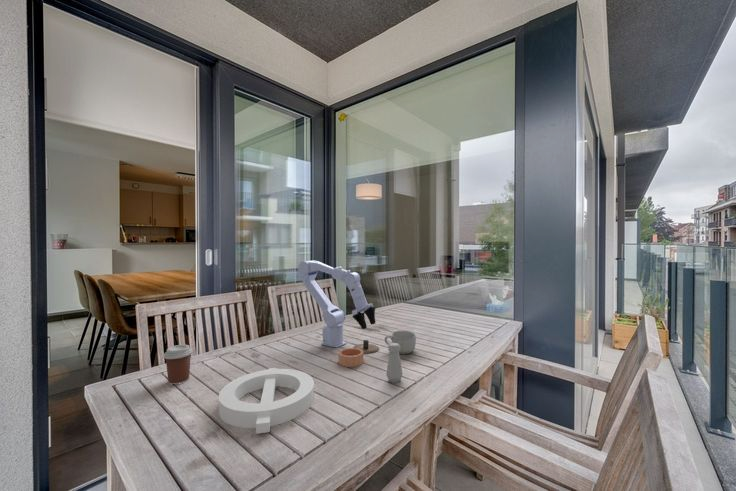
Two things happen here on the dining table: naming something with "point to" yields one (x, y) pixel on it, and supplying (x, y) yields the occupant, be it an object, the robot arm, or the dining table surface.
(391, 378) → the salt shaker
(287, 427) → the dining table surface
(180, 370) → the coffee cup
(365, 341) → the lid
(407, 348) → the teacup
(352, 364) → the bowl
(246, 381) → the ring with crossbar
